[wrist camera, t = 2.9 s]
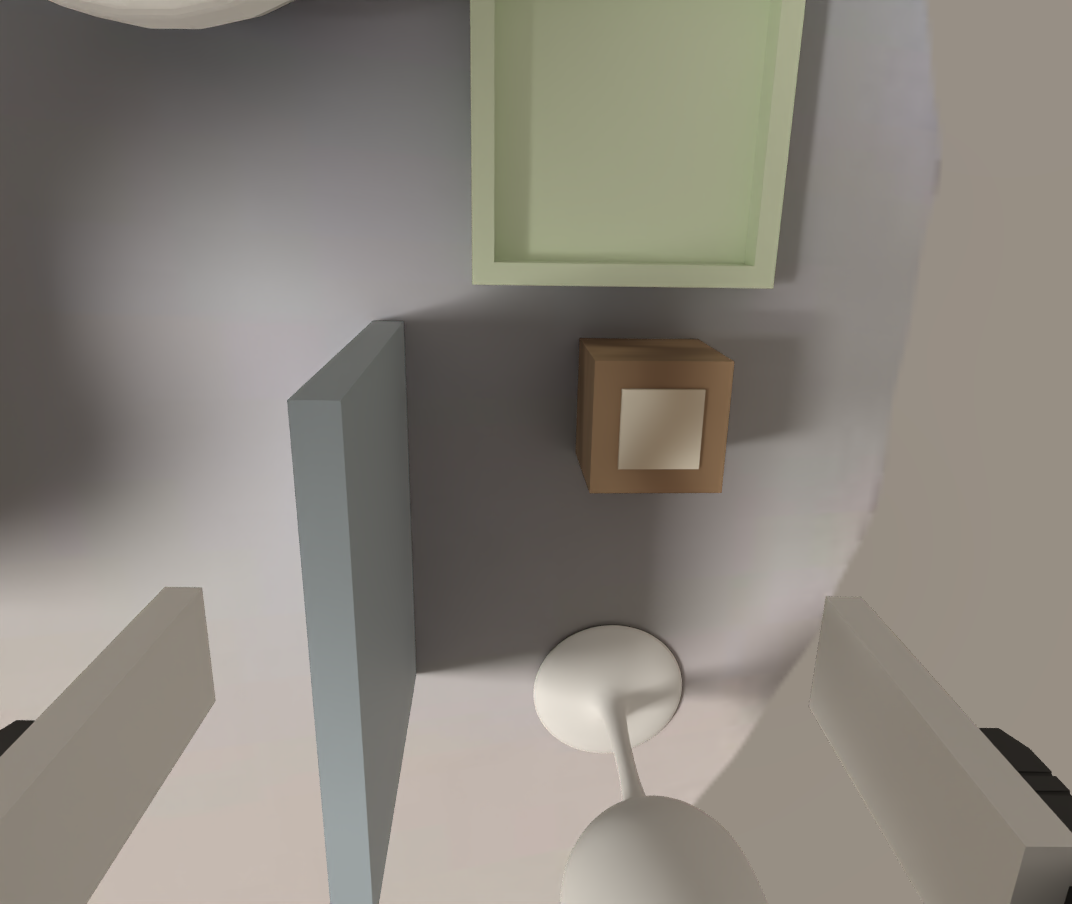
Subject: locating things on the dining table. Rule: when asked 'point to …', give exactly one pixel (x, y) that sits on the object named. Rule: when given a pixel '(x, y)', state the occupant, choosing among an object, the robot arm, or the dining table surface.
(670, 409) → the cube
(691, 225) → the tray
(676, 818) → the wineglass
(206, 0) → the bowl
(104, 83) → the dining table surface
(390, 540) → the screen
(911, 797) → the robot arm
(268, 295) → the dining table surface
